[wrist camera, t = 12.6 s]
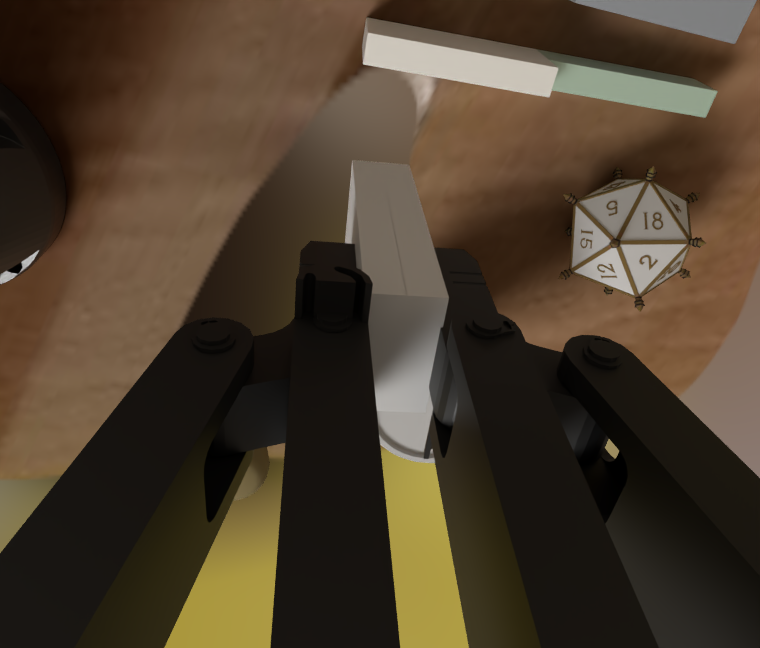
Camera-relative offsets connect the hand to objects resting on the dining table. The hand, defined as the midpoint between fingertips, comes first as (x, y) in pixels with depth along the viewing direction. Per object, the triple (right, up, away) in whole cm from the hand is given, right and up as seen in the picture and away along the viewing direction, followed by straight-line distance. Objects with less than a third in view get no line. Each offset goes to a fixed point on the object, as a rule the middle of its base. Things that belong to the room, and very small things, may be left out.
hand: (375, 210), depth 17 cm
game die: (+15, +5, +26) cm, 30 cm away
